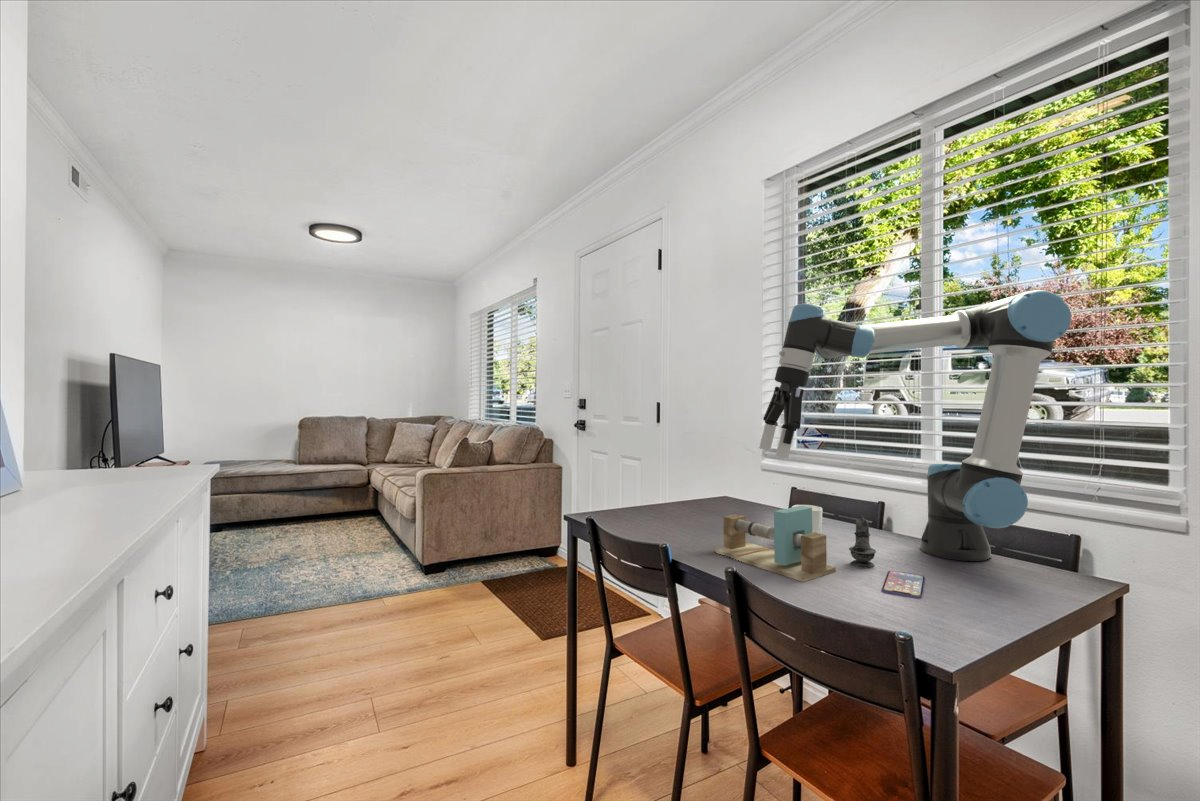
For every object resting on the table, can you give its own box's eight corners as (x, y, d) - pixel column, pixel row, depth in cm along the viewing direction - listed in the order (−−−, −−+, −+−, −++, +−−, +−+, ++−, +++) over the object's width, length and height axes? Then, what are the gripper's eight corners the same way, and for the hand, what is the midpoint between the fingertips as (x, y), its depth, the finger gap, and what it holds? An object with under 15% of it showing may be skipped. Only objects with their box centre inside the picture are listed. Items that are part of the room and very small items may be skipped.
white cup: (786, 541, 153) (786, 505, 153) (812, 539, 154) (812, 504, 154) (802, 548, 145) (801, 511, 145) (828, 546, 146) (828, 509, 146)
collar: (812, 557, 130) (811, 507, 130) (785, 565, 124) (784, 513, 124) (801, 554, 132) (801, 505, 132) (774, 562, 127) (774, 510, 127)
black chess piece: (870, 561, 133) (870, 512, 133) (880, 568, 128) (880, 517, 128) (845, 560, 134) (845, 512, 134) (854, 568, 128) (853, 517, 128)
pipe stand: (835, 571, 126) (835, 532, 126) (803, 581, 119) (802, 540, 119) (745, 545, 148) (745, 512, 148) (714, 552, 142) (713, 518, 142)
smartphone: (925, 579, 121) (922, 601, 108) (888, 573, 125) (880, 593, 112) (925, 575, 121) (922, 597, 108) (888, 569, 125) (880, 589, 112)
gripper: (763, 366, 144) (744, 443, 145) (796, 363, 119) (773, 456, 120) (791, 372, 144) (772, 450, 145) (830, 371, 119) (806, 464, 120)
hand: (772, 453), depth 133 cm, fingers open, 13 cm apart
